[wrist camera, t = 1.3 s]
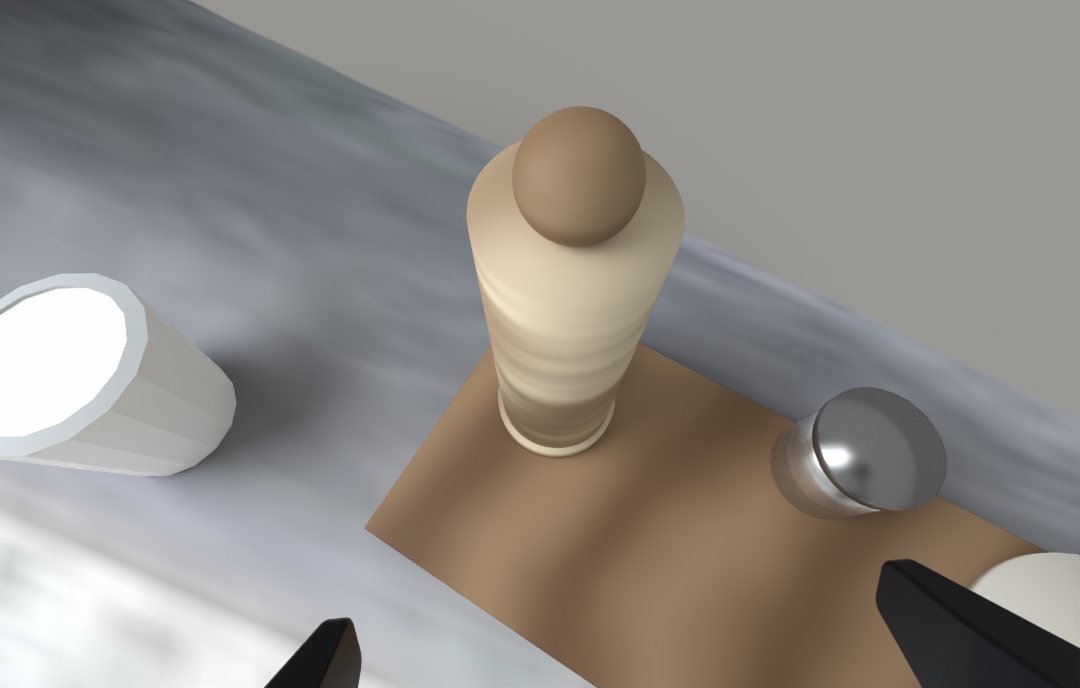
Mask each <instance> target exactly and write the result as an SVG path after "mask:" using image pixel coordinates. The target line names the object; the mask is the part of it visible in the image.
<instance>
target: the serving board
mask: <svg viewBox="0 0 1080 688" xmlns="http://www.w3.org/2000/svg"><path fill="white" fill-rule="evenodd" d="M498 389H499V381H498V376H497V371H496V366H495V361H494V356H493V351H492V346H490V347H489V349H488V350H487V352H486V353H485V354H484V356H483V357H482V359H481V360H480V362H479V363H478V365H477V366H476V367H475V369H474V370H473V372H472V373H471V375H470V376H469V378H468V379H467V380H466V382H465V383H464V385H463V386H462V388H461V389H460V391H459V392H458V393H457V395H456V396H455V398H454V399H453V401H452V402H451V404H450V405H449V406H448V408H447V409H446V411H445V412H444V414H443V415H442V417H441V418H440V419H439V421H438V422H437V424H436V425H435V427H434V428H433V429H432V431H431V432H430V434H429V435H428V437H427V438H426V440H425V441H424V442H423V444H422V445H421V447H420V448H419V450H418V451H417V453H416V454H415V455H414V457H413V458H412V460H411V461H410V463H409V464H408V466H407V467H406V468H405V470H404V471H403V473H402V474H401V476H400V477H399V479H398V480H397V481H396V483H395V484H394V486H393V487H392V489H391V490H390V492H389V493H388V494H387V496H386V497H385V499H384V500H383V502H382V503H381V505H380V506H379V507H378V509H377V510H376V512H375V513H374V515H373V516H372V517H371V519H370V520H369V522H368V523H367V525H366V526H365V528H364V529H366V530H367V531H369V532H370V533H372V534H373V535H375V536H376V537H378V538H379V539H380V540H382V541H383V542H385V543H386V544H388V545H389V546H391V547H392V548H394V549H395V550H397V551H398V552H399V553H401V554H402V555H404V556H405V557H407V558H408V559H410V560H411V561H413V562H414V563H416V564H417V565H418V566H420V567H421V568H423V569H424V570H426V571H427V572H429V573H430V574H432V575H433V576H435V577H436V578H437V579H439V580H440V581H442V582H443V583H445V584H446V585H448V586H449V587H451V588H452V589H454V590H455V591H456V592H458V593H459V594H461V595H462V596H464V597H465V598H467V599H468V600H470V601H471V602H472V603H474V604H475V605H477V606H478V607H480V608H481V609H483V610H484V611H486V612H487V613H489V614H490V615H491V616H493V617H494V618H496V619H497V620H499V621H500V622H502V623H503V624H505V625H506V626H508V627H509V628H510V629H512V630H513V631H515V632H516V633H518V634H519V635H521V636H522V637H524V638H525V639H527V640H528V641H529V642H531V643H532V644H534V645H535V646H537V647H538V648H540V649H541V650H543V651H544V652H546V653H547V654H548V655H550V656H551V657H553V658H554V659H556V660H557V661H559V662H560V663H562V664H563V665H565V666H566V667H567V668H569V669H570V670H572V671H573V672H575V673H576V674H578V675H579V676H581V677H582V678H584V679H585V680H586V681H588V682H589V683H591V684H592V685H594V686H595V687H597V688H922V687H921V685H920V684H919V682H918V680H917V678H916V676H915V675H914V673H913V671H912V669H911V668H910V666H909V664H908V662H907V661H906V659H905V657H904V655H903V653H902V652H901V650H900V648H899V646H898V645H897V643H896V641H895V639H894V638H893V636H892V634H891V632H890V630H889V629H888V627H887V625H886V623H885V622H884V620H883V618H882V616H881V615H880V613H879V611H878V608H877V605H876V599H875V596H876V590H877V586H878V581H879V577H880V572H881V567H882V565H883V564H884V563H885V561H888V560H897V559H911V560H914V561H916V562H918V563H920V564H922V565H924V566H926V567H928V568H930V569H931V570H933V571H935V572H937V573H939V574H941V575H943V576H945V577H947V578H949V579H950V580H952V581H954V582H956V583H958V584H960V585H962V586H964V587H966V588H968V587H969V586H970V585H971V583H972V582H973V581H974V580H975V579H976V578H977V577H978V576H979V575H980V574H981V573H983V572H984V571H985V570H986V569H987V568H989V567H991V566H993V565H994V564H996V563H998V562H1000V561H1002V560H1005V559H1008V558H1011V557H1013V556H1019V555H1024V554H1031V553H1048V552H1046V551H1044V550H1042V549H1040V548H1038V547H1037V546H1035V545H1033V544H1031V543H1029V542H1027V541H1025V540H1023V539H1021V538H1019V537H1017V536H1015V535H1013V534H1011V533H1009V532H1007V531H1005V530H1003V529H1001V528H999V527H998V526H996V525H994V524H992V523H990V522H988V521H986V520H984V519H982V518H980V517H978V516H976V515H974V514H972V513H970V512H968V511H966V510H964V509H962V508H960V507H959V506H957V505H955V504H953V503H951V502H949V501H947V500H945V499H943V498H941V497H939V496H937V495H935V496H934V497H933V498H932V499H930V500H929V501H928V502H926V503H924V504H922V505H921V506H917V507H914V508H910V509H904V510H899V511H877V512H872V513H866V514H861V515H856V516H851V517H846V518H840V519H834V520H826V519H819V518H815V517H812V516H810V515H807V514H805V513H803V512H801V511H800V510H798V509H797V508H795V507H794V506H793V505H792V504H791V503H790V502H789V501H788V500H787V499H786V498H785V497H784V496H783V495H782V493H781V492H780V490H779V489H778V487H777V485H776V483H775V481H774V478H773V475H772V471H771V465H770V456H771V450H772V447H773V445H774V443H775V441H776V439H777V438H778V436H779V435H780V434H781V433H782V432H783V431H785V430H786V429H788V428H789V427H791V426H793V425H794V424H796V423H795V422H793V421H791V420H789V419H787V418H785V417H783V416H781V415H779V414H777V413H775V412H773V411H771V410H769V409H767V408H765V407H764V406H762V405H760V404H758V403H756V402H754V401H752V400H750V399H748V398H746V397H744V396H742V395H740V394H738V393H736V392H734V391H732V390H730V389H728V388H726V387H725V386H723V385H721V384H719V383H717V382H715V381H713V380H711V379H709V378H707V377H705V376H703V375H701V374H699V373H697V372H695V371H693V370H691V369H689V368H687V367H686V366H684V365H682V364H680V363H678V362H676V361H674V360H672V359H670V358H668V357H666V356H664V355H662V354H660V353H658V352H656V351H654V350H652V349H650V348H648V347H647V346H645V345H643V344H641V343H639V342H638V345H637V347H636V349H635V352H634V354H633V356H632V359H631V361H630V363H629V366H628V368H627V370H626V373H625V375H624V377H623V380H622V382H621V384H620V387H619V389H618V391H617V394H616V396H615V407H614V412H613V415H612V418H611V420H610V422H609V424H608V426H607V428H606V430H605V432H604V434H603V435H602V437H601V438H600V439H599V440H598V441H597V442H596V443H595V444H594V445H593V446H592V447H590V448H589V449H587V450H586V451H584V452H582V453H580V454H577V455H574V456H571V457H566V458H547V457H542V456H539V455H536V454H533V453H531V452H529V451H527V450H526V449H524V448H523V447H521V446H520V445H519V444H518V443H517V442H516V441H515V440H514V439H513V438H512V437H511V436H510V434H509V433H508V431H507V430H506V428H505V426H504V423H503V421H502V418H501V414H500V410H499V404H498Z"/></svg>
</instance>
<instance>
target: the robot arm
mask: <svg viewBox="0 0 1080 688" xmlns="http://www.w3.org/2000/svg"><path fill="white" fill-rule="evenodd" d="M875 599H876V605H877V608H878V611H879V613H880V615H881V616H882V618H883V620H884V622H885V623H886V625H887V627H888V629H889V630H890V632H891V634H892V636H893V638H894V639H895V641H896V643H897V645H898V646H899V648H900V650H901V652H902V653H903V655H904V657H905V659H906V661H907V662H908V664H909V666H910V668H911V669H912V671H913V673H914V675H915V676H916V678H917V680H918V682H919V684H920V685H921V687H922V688H1080V648H1079V647H1077V646H1075V645H1073V644H1071V643H1070V642H1068V641H1066V640H1064V639H1062V638H1060V637H1058V636H1056V635H1054V634H1053V633H1051V632H1049V631H1047V630H1045V629H1043V628H1041V627H1039V626H1037V625H1036V624H1034V623H1032V622H1030V621H1028V620H1026V619H1024V618H1022V617H1020V616H1018V615H1017V614H1015V613H1013V612H1011V611H1009V610H1007V609H1005V608H1003V607H1001V606H1000V605H998V604H996V603H994V602H992V601H990V600H988V599H986V598H984V597H983V596H981V595H979V594H977V593H975V592H973V591H971V590H969V589H967V588H966V587H964V586H962V585H960V584H958V583H956V582H954V581H952V580H950V579H949V578H947V577H945V576H943V575H941V574H939V573H937V572H935V571H933V570H931V569H930V568H928V567H926V566H924V565H922V564H920V563H918V562H916V561H914V560H911V559H897V560H888V561H885V563H884V564H883V565H882V567H881V572H880V577H879V581H878V586H877V590H876V596H875ZM361 662H362V660H361V651H360V647H359V643H358V639H357V635H356V632H355V628H354V624H353V622H352V620H351V619H350V618H347V617H346V618H337V619H328V620H326V621H324V622H323V623H321V624H320V626H319V627H318V628H317V629H316V630H315V631H314V632H313V633H312V634H311V636H310V637H309V638H308V639H307V640H306V641H305V642H304V643H303V645H302V646H301V647H300V648H299V649H298V650H297V651H296V652H295V654H294V655H293V656H292V657H291V658H290V659H289V660H288V661H287V662H286V664H285V665H284V666H283V667H282V668H281V669H280V670H279V671H278V673H277V674H276V675H275V676H274V677H273V678H272V679H271V680H270V682H269V683H268V684H267V685H266V686H265V687H264V688H358V684H359V678H360V672H361Z"/></svg>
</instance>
